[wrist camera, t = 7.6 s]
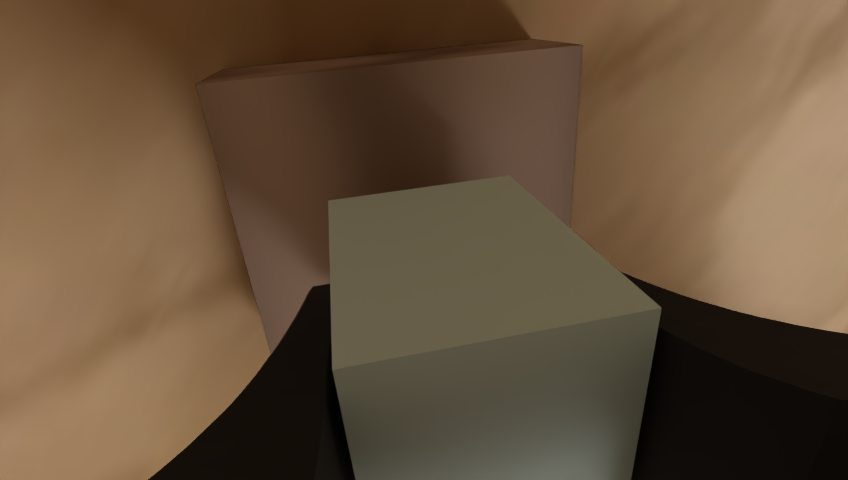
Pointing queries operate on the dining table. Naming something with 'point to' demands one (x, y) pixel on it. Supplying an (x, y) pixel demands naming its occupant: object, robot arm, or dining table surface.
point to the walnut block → (380, 143)
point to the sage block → (482, 339)
